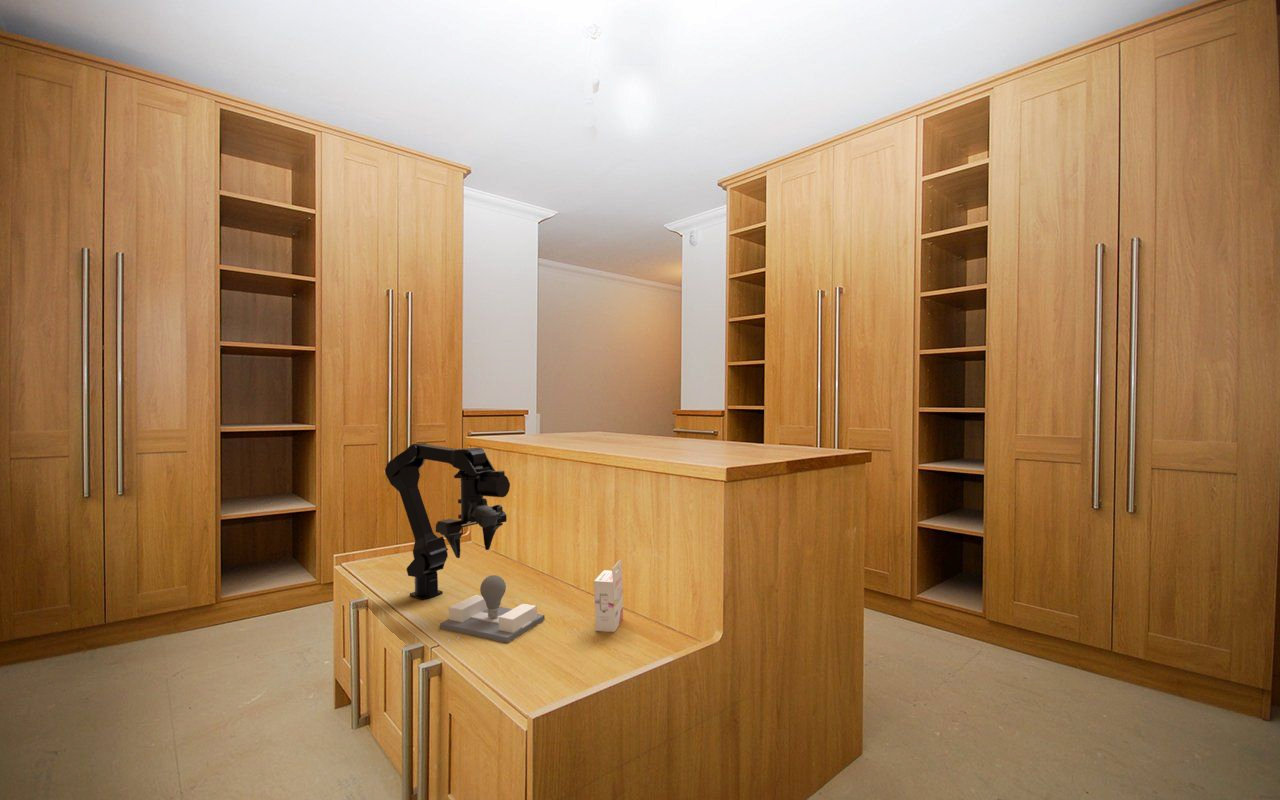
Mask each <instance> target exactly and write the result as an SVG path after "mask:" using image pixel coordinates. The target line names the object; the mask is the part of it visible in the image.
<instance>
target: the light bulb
mask: <svg viewBox="0 0 1280 800" xmlns="http://www.w3.org/2000/svg"><path fill="white" fill-rule="evenodd" d="M479 587H480V588H479V591H480V596H482V597H483V598H484V600H485V602H486V606H487V608H488V617H490V618H495V617H497V616H499V613H498V612H499V607H501V603H502V602H501V601H502V599H503V597H504V596H505V594H506V589H507V585H506V581H505V580H504V579H503V577H501V576H499V575H497V574H495V575H494V574H493V575H488V576H486V577H485V578H484V579H483V581H482V582H481V584H480V586H479Z"/></svg>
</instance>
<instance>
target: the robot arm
mask: <svg viewBox="0 0 1280 800" xmlns="http://www.w3.org/2000/svg"><path fill="white" fill-rule="evenodd" d="M425 460H428V461H434V462H439V463H445V464H449V465H450V466H452V468H455V469H457V470H458V472H456V473H455V474H454V475H453V478H454V479H460V498H459V499H457V502H458V504H460V513H461V514H458V516H457V518H458V520H457V519H453V518H447V519H443V520H442V519H441V520H438V521H437V522H436V524H435V532H436V533H439V534H440V535H442V536H439V537H438V536H437V535H436V534H435V533H434V531H433V528H432V526H431V522H430V519H429V516H428V513H427V510H426V507H425V504H424V500H423V499H422V495H421V492H420V489H419V481H420V476H421V474H420V469H421V468H422V467H423V466H424V464H425ZM387 462H388V463H387V464H386V467H385V469H384V470H385V475H386V478H387V479H388V482H389V484H390V485H391V486H392V487H393V488H395V490H397V491H398V492H399V495H400V498H401V501H402V504H403V507H404V510H405V513H406V516H407V518H408V522H409V525H410V529H411V531H412V535H413V537H414V545H413V549H412V555H413V560H412V561H411V562H410V564H409V565H408V566H407V568H406V573H407V576H408V577H413V578H414V591H413V592H410V593H409V596H410V597H413V598H416V599H418V600H422V601H423V600H425V599H429V598H431V597H436V596H439V595H442V594H443V593H444V591H443V590H440V589H439V579H438V571H440V570H443V569H444V566H445V564H446V561H447V558H448V557H449V555H448V551H449V548H448V547H447V545H446V542H445V539H446V541H447V542H448V544H449V545H450V547H451V549H452V551H453V554H454V556H455V558H457V559H460V557H461V537H462V536H463V534H464V533H463V532H461V531H462V530H463V528H465V527H470V526H474V525H479V527H481V528H482V536H483V537H482V538H483V544H484V545H483V546H484V550H486V551H490V548H491V545H492V542H493V539H494V535H495V533H496V531H497V530H498V529H499V528H500V527H502V526H503V525H504V523H506V522H507V520H508V518H507V517H508V515H507V514H506V512H505V510H504V508H503V506H502V505H501V504H494V505H493V506H492V505H491V506H490V505H488V500H487V498H484V497H490V498H491V497H492V498H493V497H494V498H505V497H506V496H507V495H508V493H509V492H510V487H511V483H510V481H509V478H508V477H507V475H506V473H505V471H504V470H497V471H496V470H495V468H494V466H493V465H492V463H491V461H490V459H489V458H488V457H487V454H486V452H485V449H484V448H482V447H468V448H453V447H448V446H446V447H445V446H441V445H433V444H428V443H425V442H420V443H418V442H417V443H412V444H411V445H409V446H408V447H407V448H406V449H405V450H404V451H402V452H400V453H399V454H397V455H396V456H395V457H394V458H392V459H390V460H389V461H387ZM459 519H460V520H459ZM443 536H444V537H443Z"/></svg>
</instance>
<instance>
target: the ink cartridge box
mask: <svg viewBox="0 0 1280 800" xmlns="http://www.w3.org/2000/svg"><path fill="white" fill-rule="evenodd" d="M622 567H623V566H622V559H620V558H619V560H618V561H617V562H616V563H615V564H614V566H613V567H612V568H611V570H608V569H607V570H605V569H604V570H603V571H602V572H601V573H600V574H598V576H597V577H596V579H594V581H593V585H594V586H593V587H594V591H593V592H594V617H595V619H594V621H595V623H594V624H595V632H607V633H608V632H609V633H615V632H616V630H617V629H618V627H620V626H619V625H620V623H621V622H622V620H623V618H624V611H623V610H624V607H623V605H624V599H623V568H622Z"/></svg>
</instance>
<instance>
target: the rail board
mask: <svg viewBox="0 0 1280 800" xmlns="http://www.w3.org/2000/svg"><path fill="white" fill-rule="evenodd" d="M537 608H538V607H537V605H532V604H527V603H520V604H519V605H517V606H516V607H515V608H508V607H505V606H504V607H502V606H499V612H498V613H499V616H497V617H495V618H490V617H488V608H487V606H486V602H485V600H484V598H483V597H482V595H477V594H474V595H472V596H470V597H468V598H466V599H463V600H462V601H459V602H457V603H455V604H453V605H451V606H449V607H448V614H449V615H448V617H449V618H447V619H446V620H442V621H441V622H439V629H442V630H445V631H446V630H448V631H451V632H456V633H460V634H464V635H470V636H474V637H479V638H482V639H488V640H491V641H497V642H500V643H501V642H502V643H506V644H508V643H510V642H512V641H513V640H515V639H516V638H518V637H520V636H521V635H523V634H525V633H526V632H528V631H529V630H531V629H533V628H534V627H536V626H537V625H539V624H540V623H542V622H544V621H545V619H546V617H545V614H542V613H538V612H537Z"/></svg>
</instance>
